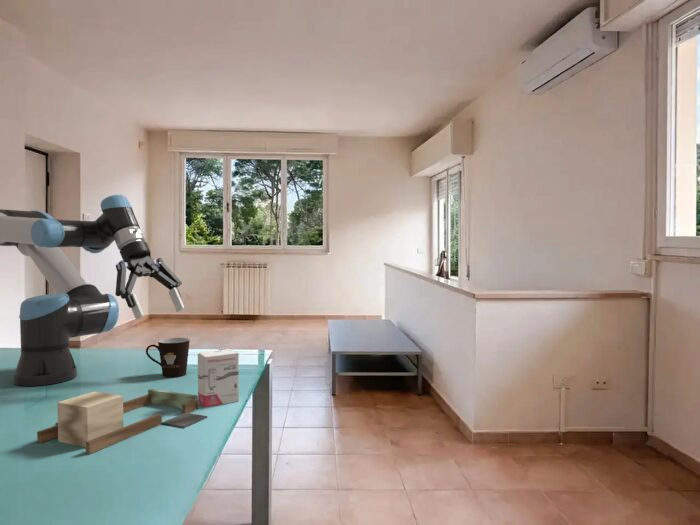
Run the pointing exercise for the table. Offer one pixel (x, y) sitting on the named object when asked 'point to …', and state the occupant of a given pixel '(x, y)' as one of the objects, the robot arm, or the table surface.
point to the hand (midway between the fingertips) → (161, 313)
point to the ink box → (218, 377)
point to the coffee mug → (172, 356)
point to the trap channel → (153, 396)
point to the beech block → (89, 417)
